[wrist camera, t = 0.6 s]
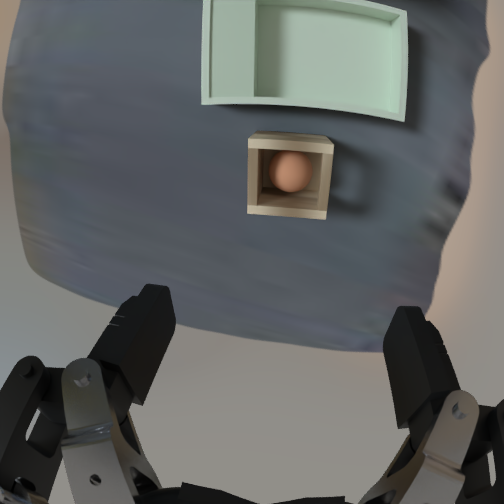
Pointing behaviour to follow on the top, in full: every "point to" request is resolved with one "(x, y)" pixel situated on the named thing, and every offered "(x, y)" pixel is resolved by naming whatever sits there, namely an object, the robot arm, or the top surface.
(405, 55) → the tray
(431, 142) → the top surface
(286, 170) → the ball
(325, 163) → the open wooden box
